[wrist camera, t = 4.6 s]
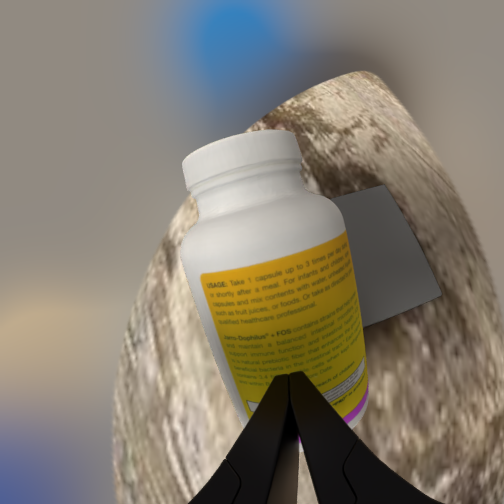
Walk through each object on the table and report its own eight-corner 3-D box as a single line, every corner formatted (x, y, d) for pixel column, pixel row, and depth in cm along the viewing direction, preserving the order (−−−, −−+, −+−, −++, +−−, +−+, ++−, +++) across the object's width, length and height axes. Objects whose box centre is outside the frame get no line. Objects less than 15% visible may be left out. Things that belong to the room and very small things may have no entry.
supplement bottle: (395, 399, 11) (354, 116, 9) (285, 481, 8) (172, 129, 6) (316, 360, 17) (268, 158, 15) (225, 408, 14) (149, 183, 12)
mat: (440, 296, 16) (442, 294, 15) (260, 358, 17) (259, 357, 16) (383, 187, 21) (384, 184, 20) (232, 230, 22) (231, 227, 21)
